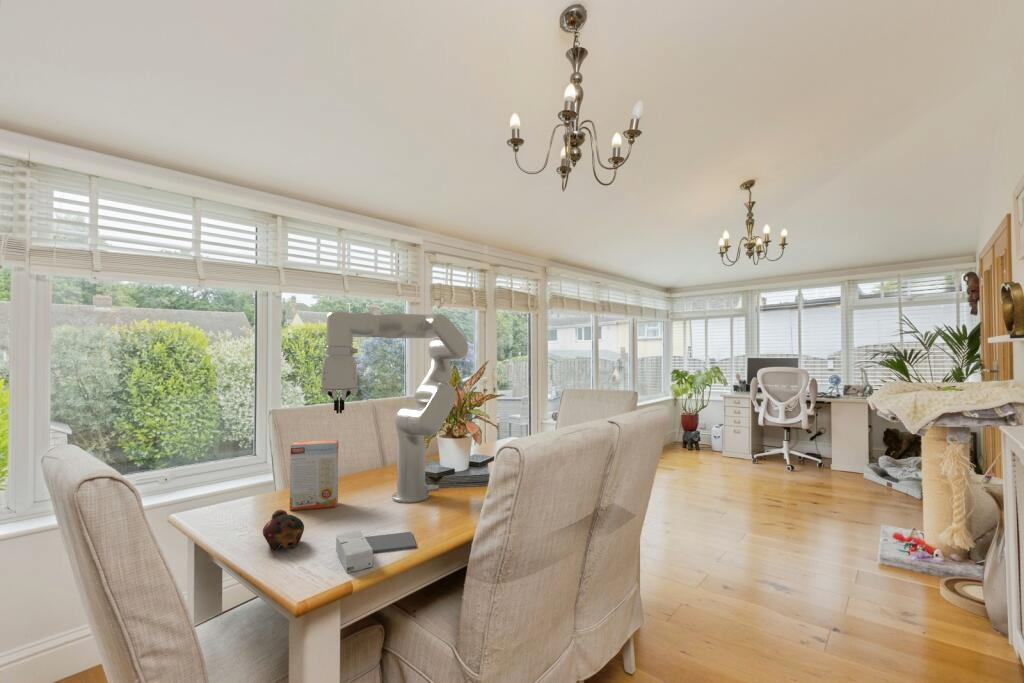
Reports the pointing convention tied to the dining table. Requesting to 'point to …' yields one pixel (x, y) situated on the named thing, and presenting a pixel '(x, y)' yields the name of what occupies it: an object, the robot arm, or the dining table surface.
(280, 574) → the dining table surface
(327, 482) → the cracker box
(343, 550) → the skincare box
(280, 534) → the decorative turtle
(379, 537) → the slate mat
